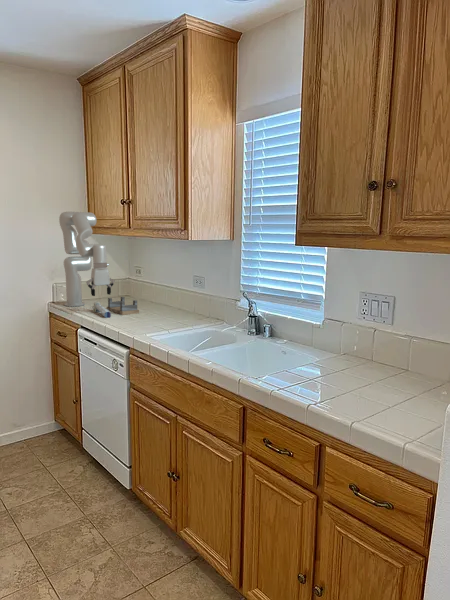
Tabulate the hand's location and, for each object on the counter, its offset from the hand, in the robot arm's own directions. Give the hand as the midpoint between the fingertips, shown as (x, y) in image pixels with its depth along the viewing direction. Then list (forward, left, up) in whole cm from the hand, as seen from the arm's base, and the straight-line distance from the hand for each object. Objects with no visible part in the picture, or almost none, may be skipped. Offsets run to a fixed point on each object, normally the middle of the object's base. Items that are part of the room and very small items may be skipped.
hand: (101, 295), depth 268 cm
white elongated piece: (0, 0, -12) cm, 12 cm away
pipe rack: (-1, +14, -11) cm, 18 cm away
